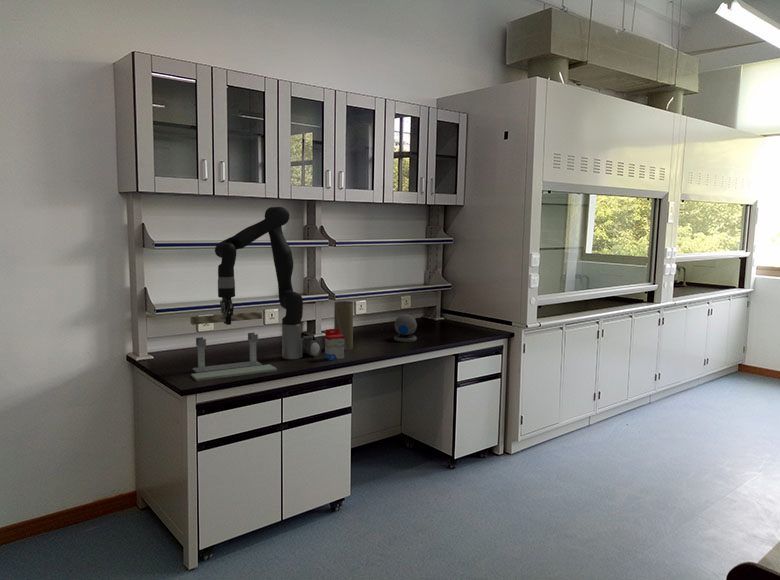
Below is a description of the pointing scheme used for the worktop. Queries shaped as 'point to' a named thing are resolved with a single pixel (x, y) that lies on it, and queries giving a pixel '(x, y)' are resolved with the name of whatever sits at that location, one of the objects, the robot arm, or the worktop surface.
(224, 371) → the mat
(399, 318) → the webcam
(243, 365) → the hook stand
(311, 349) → the pipe fitting
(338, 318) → the tube
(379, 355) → the worktop surface
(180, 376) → the worktop surface
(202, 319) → the rail
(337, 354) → the ink box
